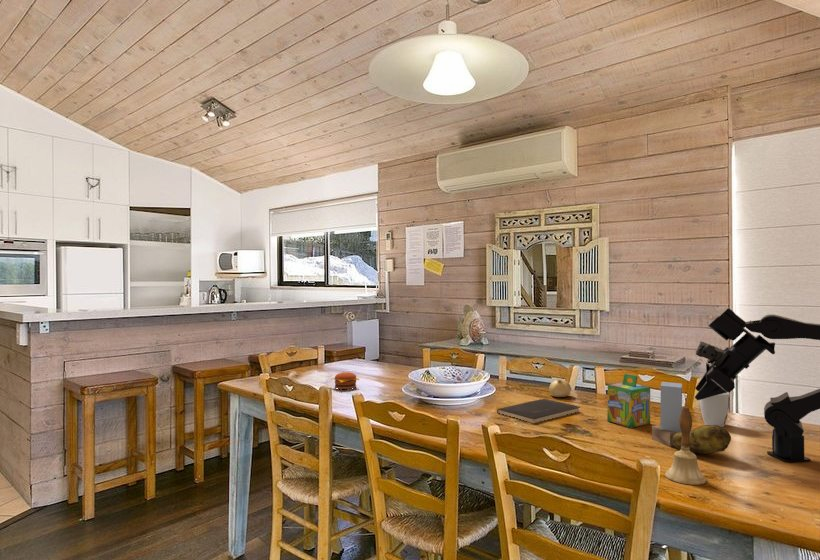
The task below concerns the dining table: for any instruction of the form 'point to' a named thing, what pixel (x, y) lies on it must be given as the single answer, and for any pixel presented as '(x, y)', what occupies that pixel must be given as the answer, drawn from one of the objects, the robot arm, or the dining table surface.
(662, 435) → the walnut box
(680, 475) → the hand bell
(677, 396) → the slate block
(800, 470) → the dining table surface
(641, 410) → the chalk box
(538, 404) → the hardcover book
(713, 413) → the cup
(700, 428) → the potato
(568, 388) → the onion
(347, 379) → the hamburger
